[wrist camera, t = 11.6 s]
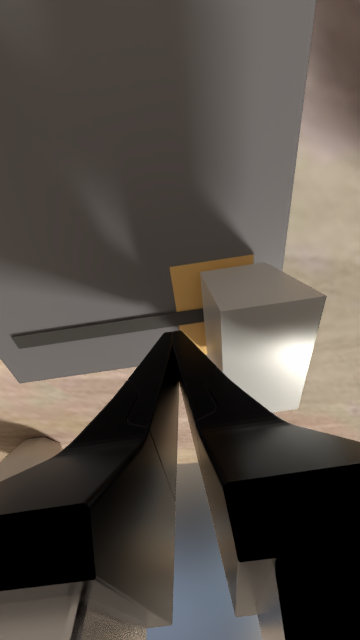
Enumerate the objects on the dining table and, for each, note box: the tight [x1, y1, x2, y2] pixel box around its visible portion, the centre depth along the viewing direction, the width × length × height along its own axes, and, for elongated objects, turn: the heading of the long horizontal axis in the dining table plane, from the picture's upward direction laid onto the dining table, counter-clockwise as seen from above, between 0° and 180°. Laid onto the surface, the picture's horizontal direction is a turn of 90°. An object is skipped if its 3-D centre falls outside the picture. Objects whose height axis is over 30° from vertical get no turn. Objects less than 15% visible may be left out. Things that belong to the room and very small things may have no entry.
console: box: [0, 0, 316, 383], centre depth 9 cm, size 16×18×3 cm
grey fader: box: [200, 262, 326, 412], centre depth 9 cm, size 3×5×4 cm, turn 8°
